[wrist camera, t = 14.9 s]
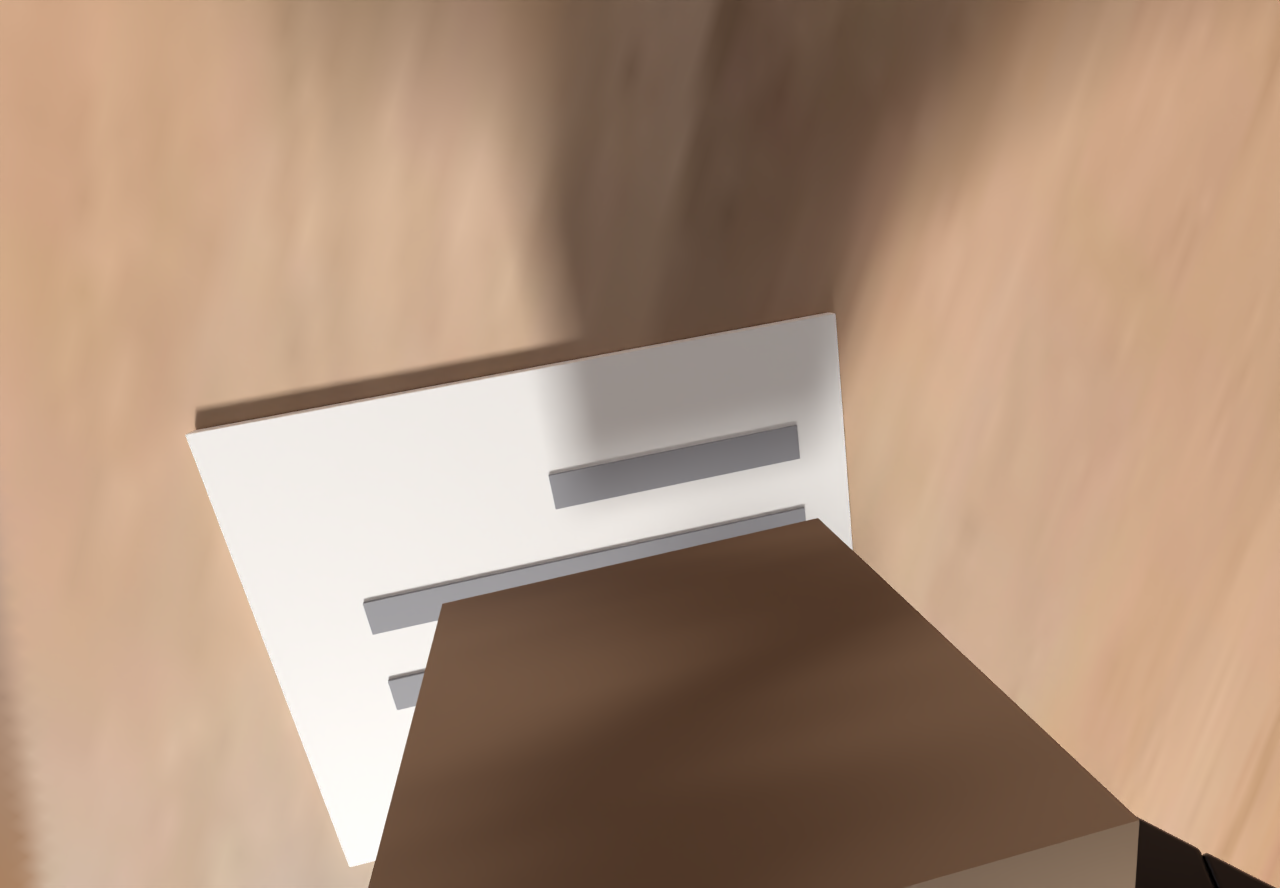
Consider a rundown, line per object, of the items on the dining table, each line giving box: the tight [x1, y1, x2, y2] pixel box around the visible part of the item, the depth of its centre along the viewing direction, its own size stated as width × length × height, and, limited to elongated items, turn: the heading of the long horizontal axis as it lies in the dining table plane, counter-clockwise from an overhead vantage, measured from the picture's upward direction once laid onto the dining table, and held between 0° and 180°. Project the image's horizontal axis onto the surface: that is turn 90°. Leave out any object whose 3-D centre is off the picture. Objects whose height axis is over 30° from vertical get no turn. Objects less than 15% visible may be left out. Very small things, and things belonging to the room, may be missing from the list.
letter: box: [186, 312, 853, 867], centre depth 14 cm, size 12×10×1 cm
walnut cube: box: [368, 518, 1139, 888], centre depth 7 cm, size 5×5×5 cm
